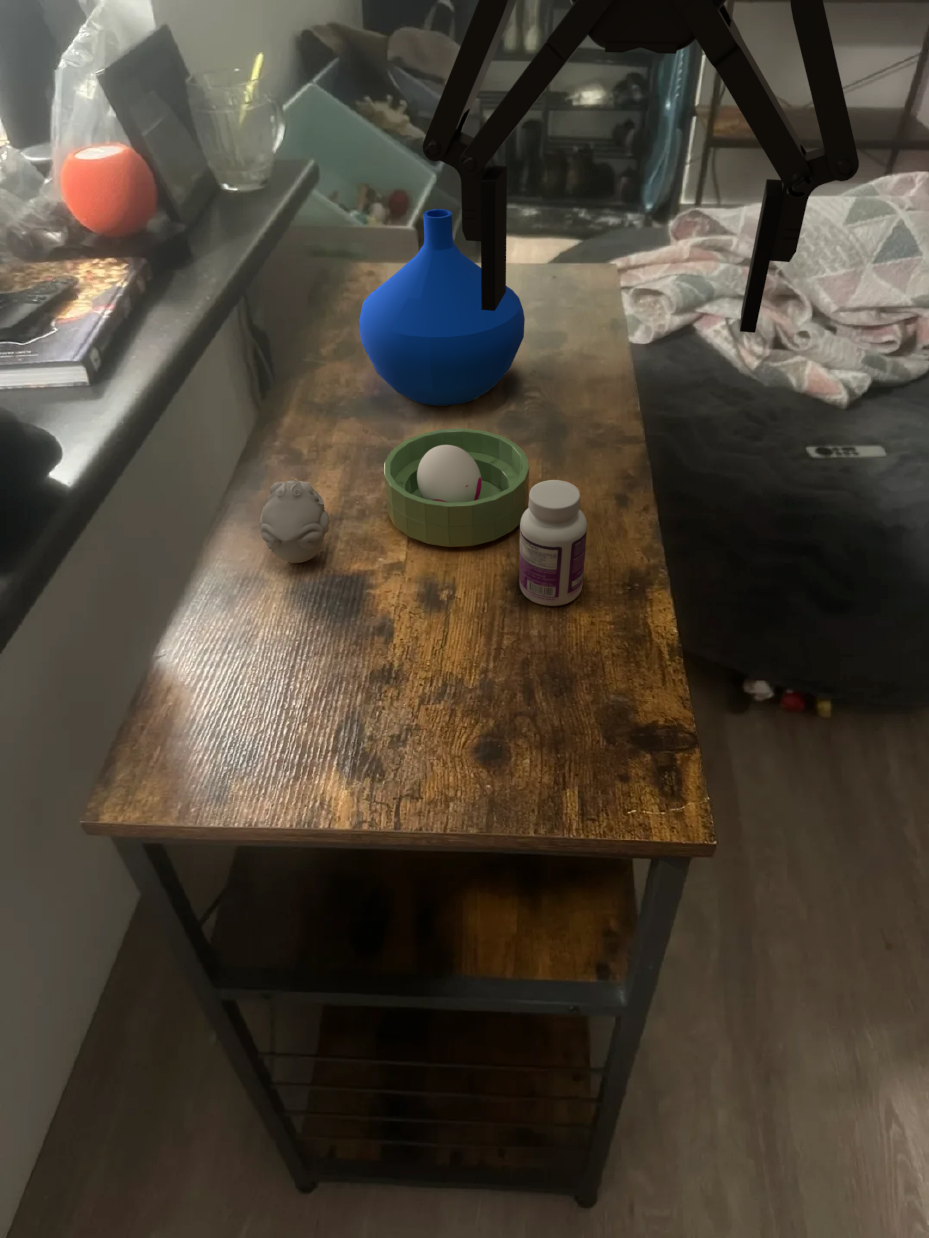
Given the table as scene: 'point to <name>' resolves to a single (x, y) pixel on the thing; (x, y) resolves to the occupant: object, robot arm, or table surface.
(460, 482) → the stress ball
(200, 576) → the table surface
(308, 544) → the frog figurine
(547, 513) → the pill bottle
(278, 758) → the table surface
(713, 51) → the robot arm
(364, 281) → the table surface
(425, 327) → the vase
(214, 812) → the table surface
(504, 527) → the green bowl
